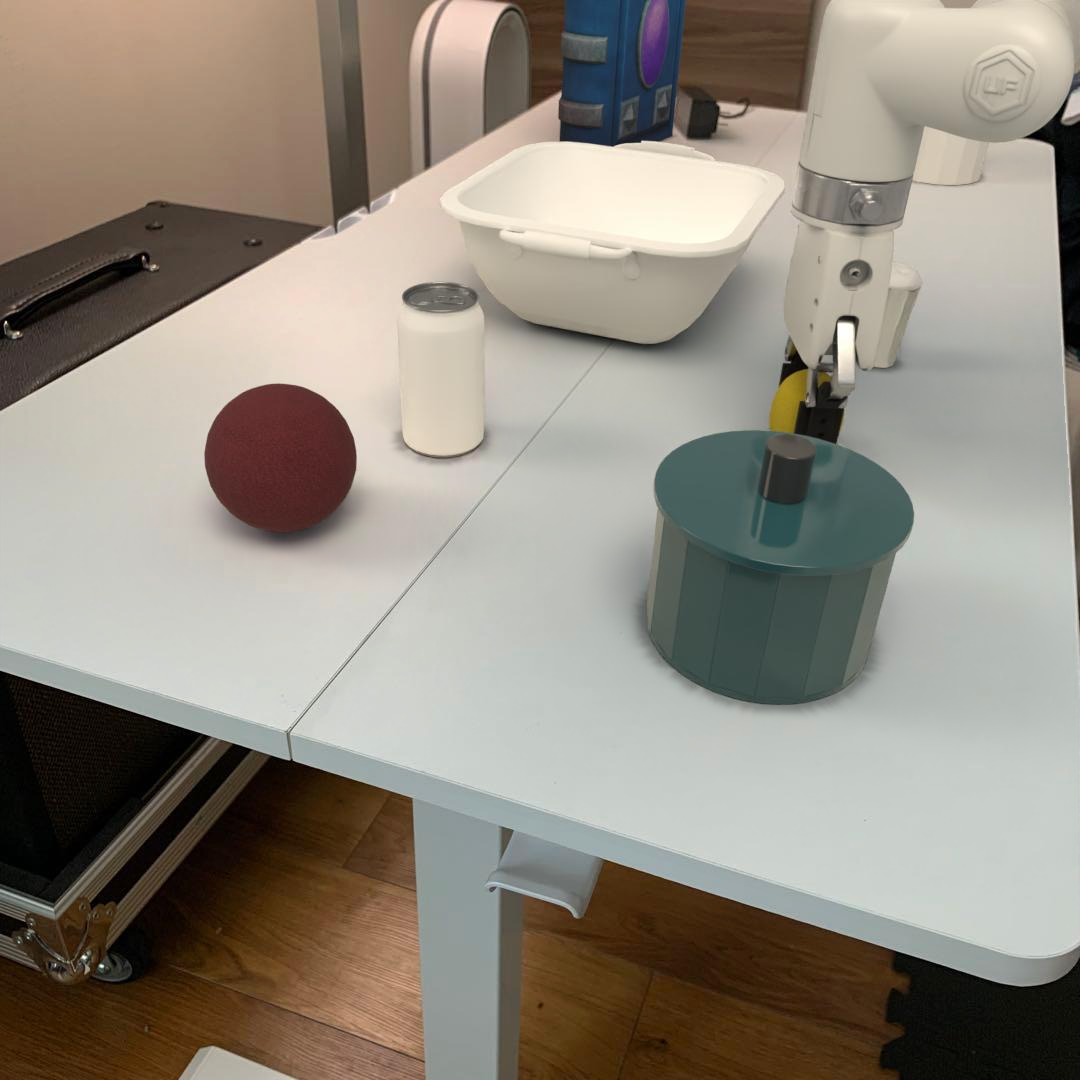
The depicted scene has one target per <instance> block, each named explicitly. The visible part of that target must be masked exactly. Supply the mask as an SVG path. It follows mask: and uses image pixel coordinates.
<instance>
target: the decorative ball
mask: <svg viewBox="0 0 1080 1080" xmlns="http://www.w3.org/2000/svg"><path fill="white" fill-rule="evenodd" d="M203 454H204V457H203V458H204V469H205V472H206V476H207V479H208V482H209V486H210V488H211V490H212V492H213V493H214V495H215V497H216V498H217V500H218V501H219V503H220V504H221V505H222V506H223V507H224V508H225V510H227V511H228V512H229V513H230V514H231V515H232V516H234V518H236V519H238V520H239V521H241V522H243V523H244V524H246V525H248V526H251V527H253V528H257V529H260V530H262V531H266V532H272V533H292V532H298V531H302V530H305V529H309V528H310V527H313V526H315V525H317V524H319V523H321V522H323V521H324V520H326V519H328V518H329V517H330V516H331V515H332V514H333V513H334V512H336V510H338V508H339V507H341V505H342V504H343V503H344V501H345V500H346V498H347V496H348V495H349V493H350V491H351V489H352V486H353V482H354V480H355V477H356V472H357V463H358V462H357V461H358V459H357V458H358V456H357V447H356V442H355V437H354V435H353V432H352V431H351V428H350V426H349V424H348V422H347V420H346V419H345V417H344V415H342V413H341V412H340V410H339V409H338V408H337V406H335V405H334V404H333V403H331V402H330V401H329V400H328V399H327V398H326V397H324V396H322V395H321V394H320V393H317V392H315V391H314V390H311V389H309V388H307V387H304V386H301V385H297V384H291V383H268V384H263V385H258V386H256V387H252V388H249V389H247V390H244V391H243V392H241V393H239V394H238V395H237V396H235V397H233V399H231V400H230V401H228V402H227V403H226V404H225V405H224V406H223V407H222V409H221V410H220V411H219V412H218V414H217V415H216V417H215V418H214V419H213V422H212V424H211V426H210V427H209V430H208V433H207V436H206V441H205V447H204V453H203Z"/></svg>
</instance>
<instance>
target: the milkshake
mask: <svg viewBox="0 0 1080 1080" xmlns="http://www.w3.org/2000/svg"><path fill="white" fill-rule="evenodd" d="M922 285H923V279H922V275H921V273H920V272H919V271H918V270H917V269H915V268H913V267H912V266H910V265H909V264H907V263H900V262H898V261H892V269H891V277H890V284H889V290H888V297H887V302H886V308H885V314H884V320H883V325H882V331H881V336H880V341H879V347H878V352H877V357H876V361H875V364H874V366H873V367H872V368H880V369H886V368H891V367H893V366H894V364H895V363H896V360H897V357H898V354H899V351H900V349H901V345H902V342H903V338H904V336H905V333H906V329H907V326H908V323H909V321H910V317H911V315H912V312H913V310H914V307H915V304H916V301H917V299H918V297H919V294H920V292H921V291H920V290H921V288H922Z"/></svg>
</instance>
